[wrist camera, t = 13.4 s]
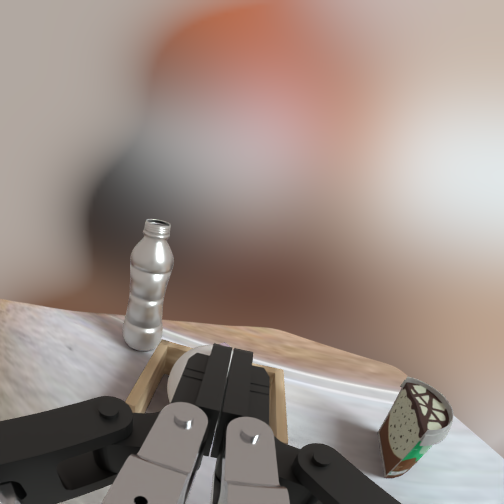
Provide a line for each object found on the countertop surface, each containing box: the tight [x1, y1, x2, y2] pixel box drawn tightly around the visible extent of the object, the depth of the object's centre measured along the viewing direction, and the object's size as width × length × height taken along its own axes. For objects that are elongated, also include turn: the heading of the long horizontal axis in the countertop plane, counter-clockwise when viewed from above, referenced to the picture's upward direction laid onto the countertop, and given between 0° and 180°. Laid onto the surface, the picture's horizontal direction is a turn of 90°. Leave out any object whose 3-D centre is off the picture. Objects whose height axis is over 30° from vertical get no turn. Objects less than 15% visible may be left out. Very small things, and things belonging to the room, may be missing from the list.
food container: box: [378, 377, 453, 478], centre depth 32 cm, size 12×6×10 cm, turn 168°
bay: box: [125, 340, 288, 444], centre depth 36 cm, size 17×14×5 cm
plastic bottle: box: [123, 219, 174, 351], centre depth 45 cm, size 6×7×20 cm
